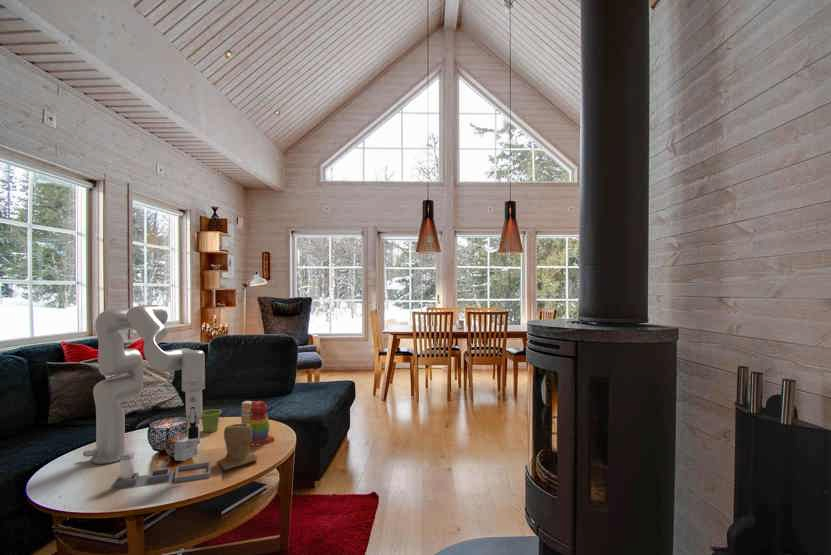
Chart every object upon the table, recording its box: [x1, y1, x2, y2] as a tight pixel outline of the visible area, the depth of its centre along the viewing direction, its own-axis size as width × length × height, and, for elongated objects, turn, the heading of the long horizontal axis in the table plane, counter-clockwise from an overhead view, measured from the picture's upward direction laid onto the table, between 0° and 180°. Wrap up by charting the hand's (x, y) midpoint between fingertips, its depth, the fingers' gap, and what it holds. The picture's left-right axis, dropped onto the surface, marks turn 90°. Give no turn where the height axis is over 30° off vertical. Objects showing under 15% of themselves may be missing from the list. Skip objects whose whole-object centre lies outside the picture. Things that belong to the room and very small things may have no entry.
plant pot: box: [200, 409, 222, 433], centre depth 223 cm, size 9×9×9 cm
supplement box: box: [240, 400, 257, 424], centre depth 224 cm, size 8×5×13 cm, turn 80°
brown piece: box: [217, 423, 259, 471], centre depth 182 cm, size 15×12×15 cm
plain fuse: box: [119, 451, 135, 481], centre depth 162 cm, size 4×4×10 cm
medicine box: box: [174, 436, 198, 462], centre depth 186 cm, size 8×4×9 cm, turn 168°
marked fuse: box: [186, 416, 201, 446], centre depth 169 cm, size 4×4×10 cm
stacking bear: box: [248, 400, 275, 446], centre depth 207 cm, size 11×10×18 cm
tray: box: [173, 461, 212, 483], centre depth 169 cm, size 11×11×3 cm
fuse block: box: [110, 467, 175, 492], centre depth 164 cm, size 18×10×4 cm, turn 112°
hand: (193, 435), depth 169 cm, fingers closed on marked fuse, 4 cm apart
